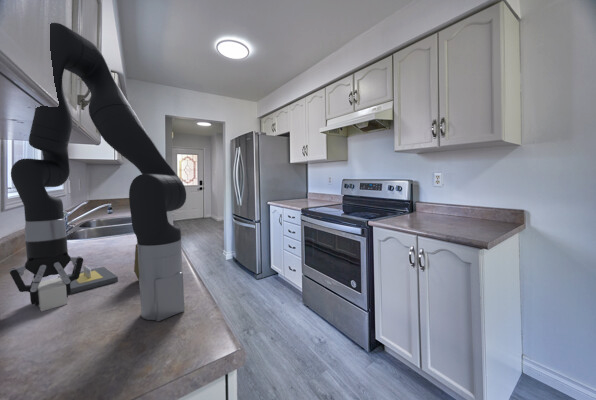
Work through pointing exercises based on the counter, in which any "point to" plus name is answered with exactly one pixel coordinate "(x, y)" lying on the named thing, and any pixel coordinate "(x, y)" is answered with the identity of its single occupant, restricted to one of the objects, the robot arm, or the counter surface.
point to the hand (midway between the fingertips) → (51, 300)
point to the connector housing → (52, 294)
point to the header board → (92, 279)
